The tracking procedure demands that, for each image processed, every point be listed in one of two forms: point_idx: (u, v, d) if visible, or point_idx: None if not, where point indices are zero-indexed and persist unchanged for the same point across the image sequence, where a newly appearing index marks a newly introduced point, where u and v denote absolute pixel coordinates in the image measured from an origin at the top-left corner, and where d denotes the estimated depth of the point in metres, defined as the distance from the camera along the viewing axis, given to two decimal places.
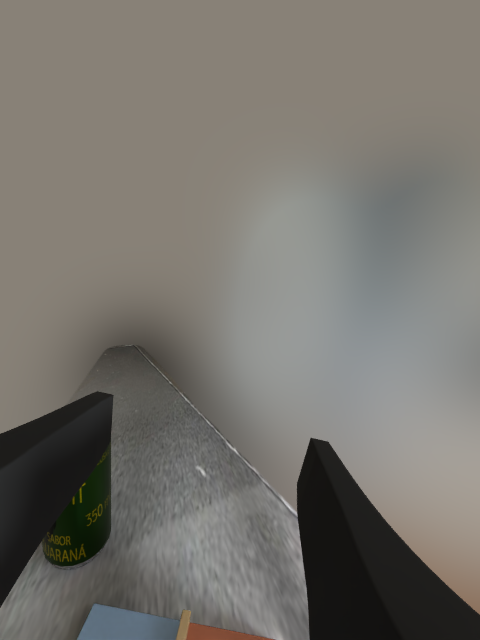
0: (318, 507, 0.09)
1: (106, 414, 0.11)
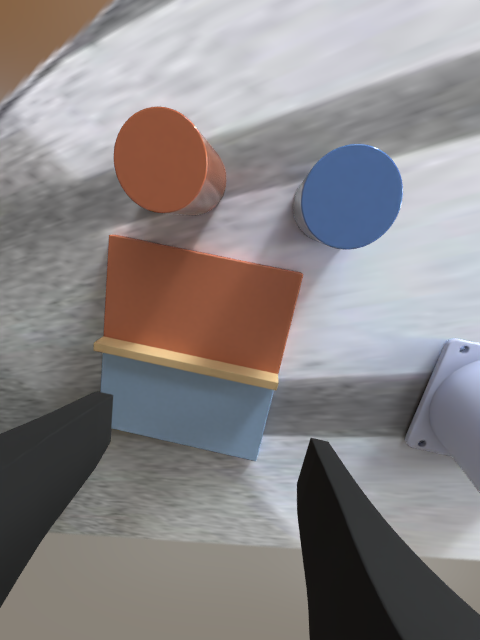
0: (318, 507, 0.09)
1: (106, 414, 0.11)
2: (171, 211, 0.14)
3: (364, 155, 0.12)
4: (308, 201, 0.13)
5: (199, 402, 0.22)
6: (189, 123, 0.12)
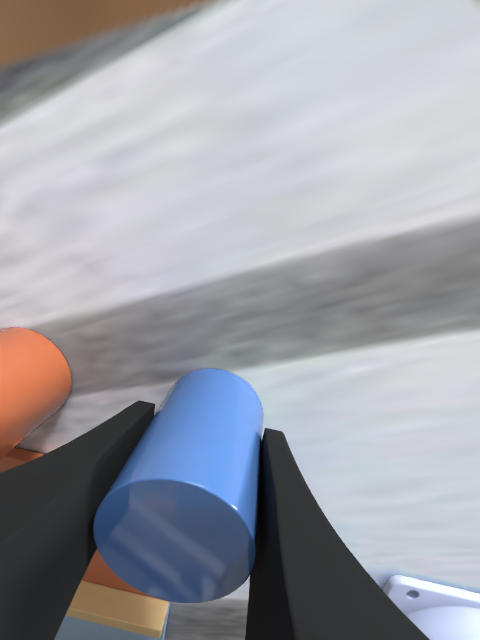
0: (262, 494, 0.09)
1: None
2: None
3: (182, 494, 0.07)
4: (104, 542, 0.08)
5: (74, 622, 0.17)
6: None
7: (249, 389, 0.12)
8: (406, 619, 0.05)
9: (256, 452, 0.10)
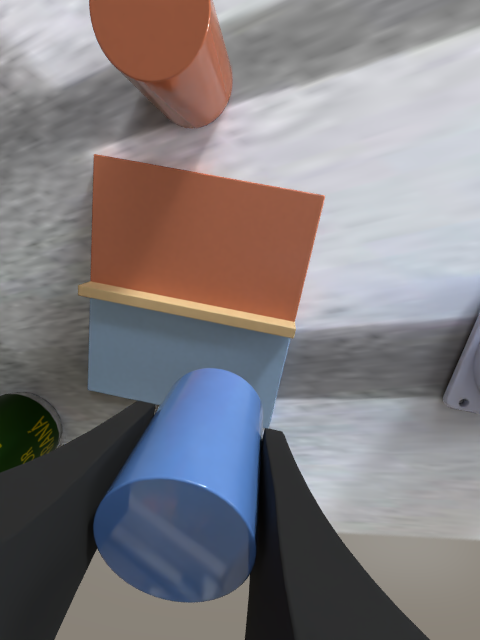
0: (262, 494, 0.09)
1: None
2: (165, 79, 0.11)
3: (182, 493, 0.07)
4: (105, 541, 0.08)
5: (202, 359, 0.19)
6: None
7: (249, 388, 0.12)
8: (406, 619, 0.05)
9: (256, 451, 0.09)
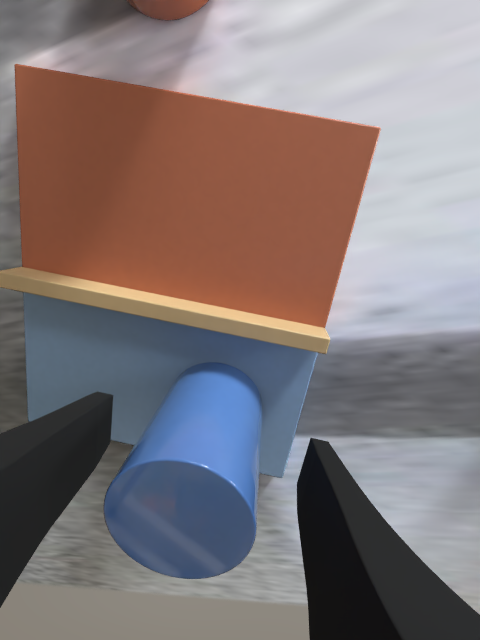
0: (318, 507, 0.09)
1: (106, 414, 0.11)
2: None
3: (187, 474, 0.08)
4: (114, 520, 0.08)
5: None
6: None
7: (249, 381, 0.12)
8: None
9: (256, 439, 0.10)
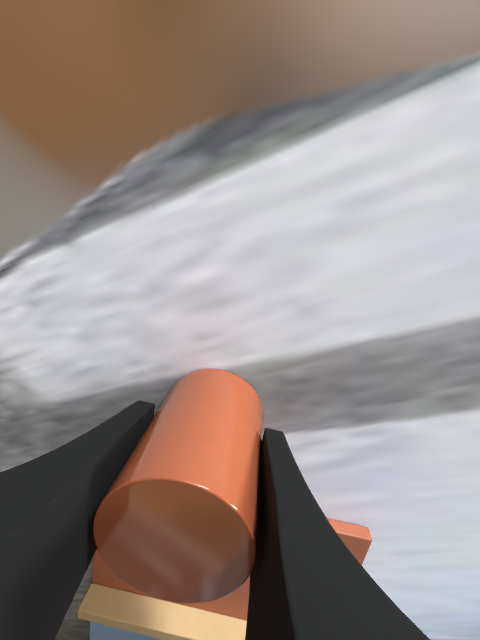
0: (262, 494, 0.09)
1: None
2: (191, 601, 0.08)
3: None
4: None
5: None
6: (226, 506, 0.07)
7: None
8: (406, 619, 0.05)
9: None
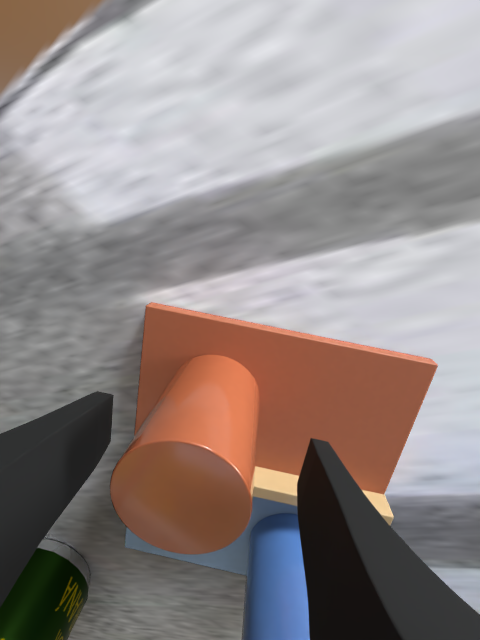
0: (318, 507, 0.09)
1: (106, 414, 0.11)
2: (196, 552, 0.09)
3: None
4: None
5: None
6: (226, 464, 0.08)
7: None
8: None
9: None
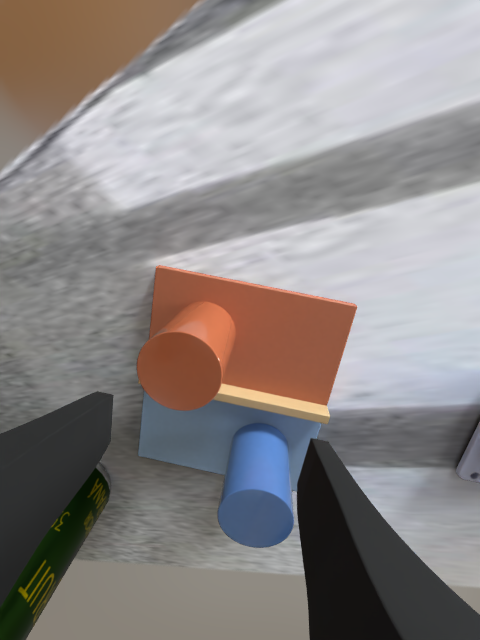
0: (318, 507, 0.09)
1: (106, 414, 0.11)
2: (189, 409, 0.15)
3: (262, 496, 0.16)
4: (222, 518, 0.17)
5: None
6: (206, 345, 0.14)
7: (281, 435, 0.21)
8: None
9: (289, 474, 0.18)
